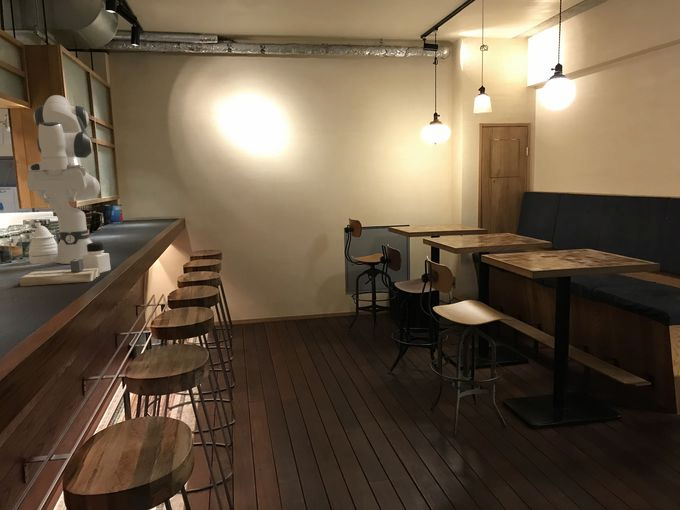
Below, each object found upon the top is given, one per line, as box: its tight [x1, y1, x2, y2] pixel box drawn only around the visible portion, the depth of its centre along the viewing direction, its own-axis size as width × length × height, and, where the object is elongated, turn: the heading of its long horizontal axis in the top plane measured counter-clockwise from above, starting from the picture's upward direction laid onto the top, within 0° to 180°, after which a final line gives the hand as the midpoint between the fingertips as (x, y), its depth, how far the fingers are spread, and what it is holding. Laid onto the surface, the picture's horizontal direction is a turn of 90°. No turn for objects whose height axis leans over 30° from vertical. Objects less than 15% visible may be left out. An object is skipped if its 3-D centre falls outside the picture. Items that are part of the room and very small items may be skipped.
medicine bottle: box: [83, 241, 112, 274], centre depth 207 cm, size 7×7×12 cm
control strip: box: [19, 268, 101, 287], centre depth 192 cm, size 12×24×3 cm, turn 100°
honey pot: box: [28, 222, 58, 265], centre depth 237 cm, size 13×13×18 cm
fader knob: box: [69, 259, 84, 272], centre depth 193 cm, size 5×3×4 cm, turn 10°
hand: (59, 202), depth 196 cm, fingers open, 8 cm apart
